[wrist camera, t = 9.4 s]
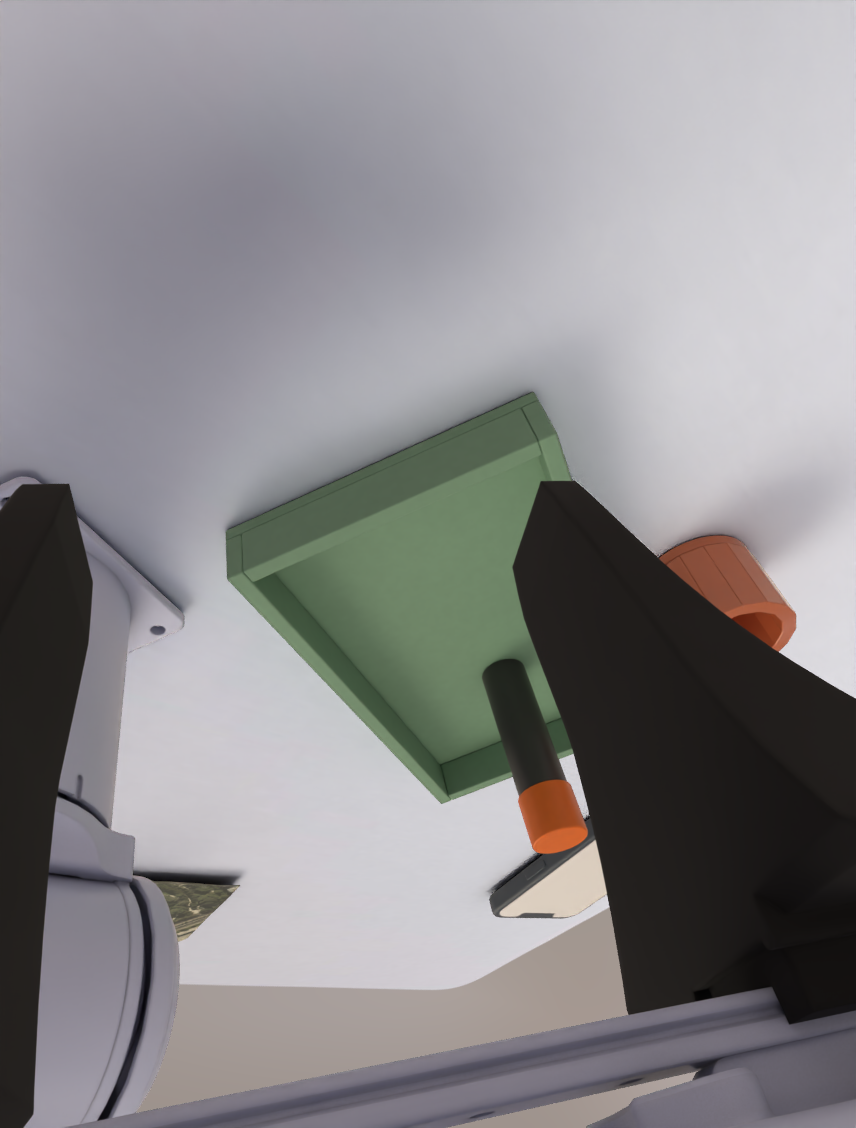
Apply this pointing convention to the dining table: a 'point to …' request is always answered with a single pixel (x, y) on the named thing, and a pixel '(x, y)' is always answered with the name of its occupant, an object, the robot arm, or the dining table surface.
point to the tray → (414, 589)
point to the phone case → (554, 884)
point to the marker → (533, 760)
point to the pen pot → (735, 586)
